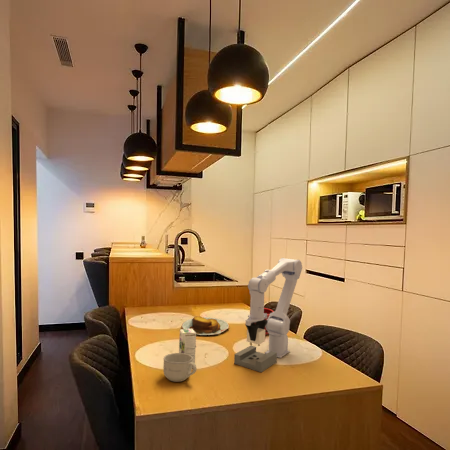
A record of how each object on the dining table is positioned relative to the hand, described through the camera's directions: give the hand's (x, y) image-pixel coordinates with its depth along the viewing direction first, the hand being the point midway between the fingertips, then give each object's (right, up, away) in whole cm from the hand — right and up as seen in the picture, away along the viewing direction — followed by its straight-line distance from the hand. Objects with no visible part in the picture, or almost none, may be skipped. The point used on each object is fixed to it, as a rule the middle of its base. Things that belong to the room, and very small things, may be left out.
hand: (256, 338), depth 141 cm
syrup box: (-29, -10, -5) cm, 31 cm away
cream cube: (0, -3, 0) cm, 3 cm away
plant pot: (+7, -10, +40) cm, 42 cm away
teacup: (-30, -10, -17) cm, 36 cm away
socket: (0, -10, 0) cm, 10 cm away
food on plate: (-24, -10, +43) cm, 51 cm away
